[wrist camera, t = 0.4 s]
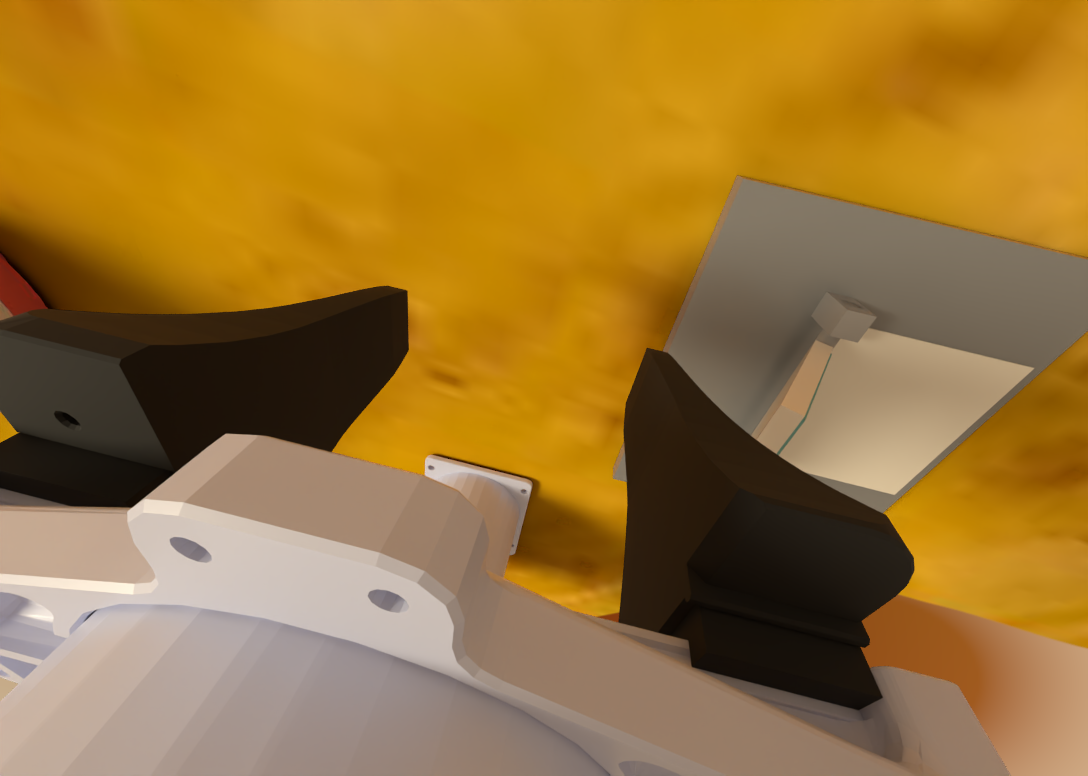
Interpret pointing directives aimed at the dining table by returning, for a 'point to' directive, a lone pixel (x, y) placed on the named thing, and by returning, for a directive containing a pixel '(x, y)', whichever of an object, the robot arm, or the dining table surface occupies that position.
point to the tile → (794, 400)
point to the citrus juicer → (15, 293)
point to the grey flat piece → (870, 329)
